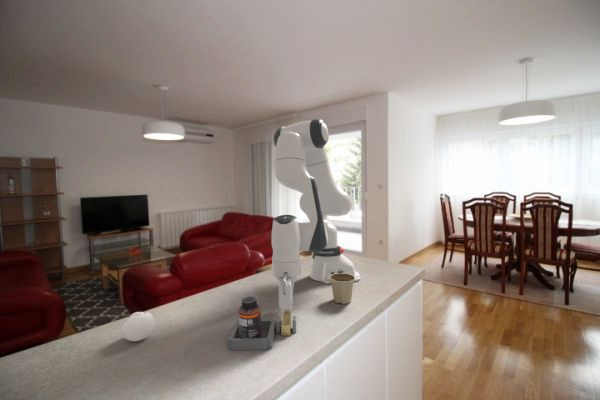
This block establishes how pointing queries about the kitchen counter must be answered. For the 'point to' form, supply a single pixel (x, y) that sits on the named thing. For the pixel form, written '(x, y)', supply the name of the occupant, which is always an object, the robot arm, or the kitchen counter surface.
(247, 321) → the supplement bottle
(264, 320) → the dock
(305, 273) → the kitchen counter surface
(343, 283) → the flower pot
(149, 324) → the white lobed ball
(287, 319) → the bar
